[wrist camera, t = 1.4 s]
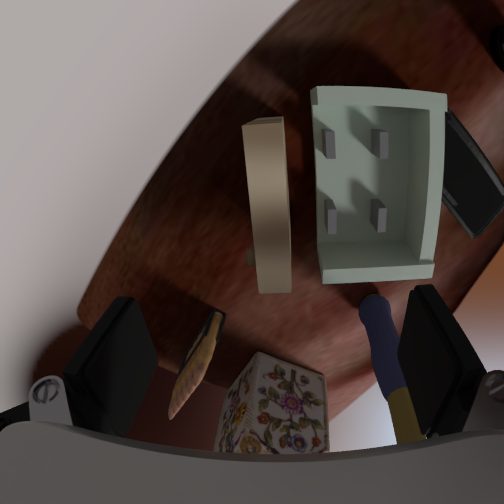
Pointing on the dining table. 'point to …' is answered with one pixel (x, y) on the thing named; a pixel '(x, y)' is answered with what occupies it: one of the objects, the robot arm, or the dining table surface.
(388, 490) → the robot arm
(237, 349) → the dining table surface
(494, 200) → the phone
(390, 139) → the cabinet
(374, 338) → the rubber mallet
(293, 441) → the decorative jar
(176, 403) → the ammunition clip
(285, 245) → the wooden block
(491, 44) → the supplement bottle
